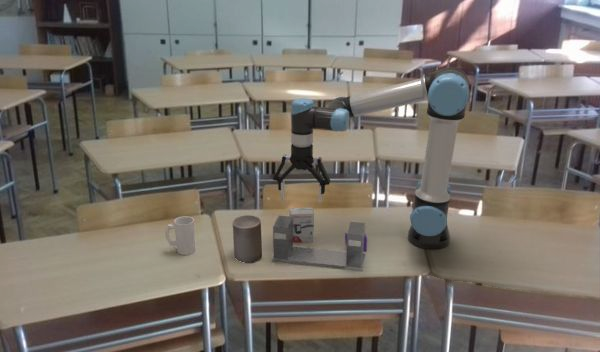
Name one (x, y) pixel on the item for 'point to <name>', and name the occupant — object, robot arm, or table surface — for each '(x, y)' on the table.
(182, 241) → the mug
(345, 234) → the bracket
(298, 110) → the robot arm
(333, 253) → the rail
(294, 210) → the ink box
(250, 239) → the pillar candle
